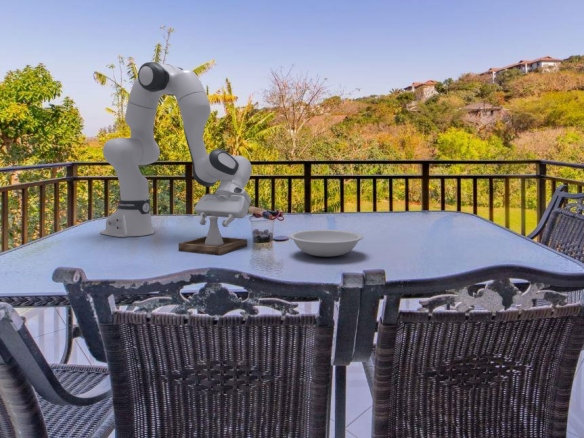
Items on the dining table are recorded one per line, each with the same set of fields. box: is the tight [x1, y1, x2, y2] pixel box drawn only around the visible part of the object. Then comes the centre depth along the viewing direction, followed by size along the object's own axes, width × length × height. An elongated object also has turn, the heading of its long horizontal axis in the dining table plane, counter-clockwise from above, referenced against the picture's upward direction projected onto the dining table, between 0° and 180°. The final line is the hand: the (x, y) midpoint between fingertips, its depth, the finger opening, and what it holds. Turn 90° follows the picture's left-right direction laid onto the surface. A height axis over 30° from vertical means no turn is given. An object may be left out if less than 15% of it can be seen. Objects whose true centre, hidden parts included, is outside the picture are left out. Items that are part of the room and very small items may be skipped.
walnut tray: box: [178, 235, 248, 256], centre depth 169 cm, size 17×17×2 cm
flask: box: [204, 216, 224, 247], centre depth 168 cm, size 7×7×10 cm
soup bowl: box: [288, 229, 364, 258], centre depth 157 cm, size 24×24×7 cm
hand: (213, 224), depth 168 cm, fingers open, 8 cm apart
